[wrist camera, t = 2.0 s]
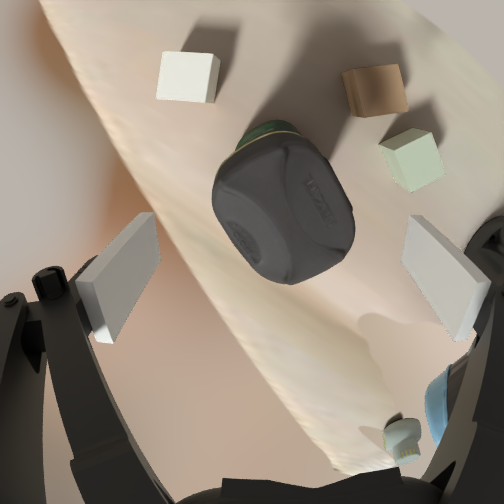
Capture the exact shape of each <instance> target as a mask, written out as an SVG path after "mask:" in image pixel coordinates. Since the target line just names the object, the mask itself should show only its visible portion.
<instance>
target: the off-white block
mask: <svg viewBox="0 0 504 504" xmlns="http://www.w3.org/2000/svg"><path fill="white" fill-rule="evenodd" d="M220 63H221V61H220V60H219V59H218V58H217V57H216V56H215V55H214V54H208V53H193V52H163V55H162V61H161V67H160V74H159V80H158V87H157V94H156V99H166V100H180V101H192V102H203V103H214V99H215V93H216V87H217V81H218V75H219V69H220Z"/></svg>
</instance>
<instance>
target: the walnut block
mask: <svg viewBox="0 0 504 504" xmlns="http://www.w3.org/2000/svg"><path fill="white" fill-rule="evenodd" d="M341 76H342V79H343V83H344V87H345V90H346V94H347V98H348V102H349V106H350V111H351V115H352V116H356V117H363V118H366V117H372V116H379V115H386V114H393V113H400V112H408V111H409V109H408V104H407V99H406V95H405V90H404V86H403V81H402V77H401V73H400V69H399V65H398V64H393V65H382V66H372V67H363V68H355V69H351V70H348V71H346V72H344V73H341Z"/></svg>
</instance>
